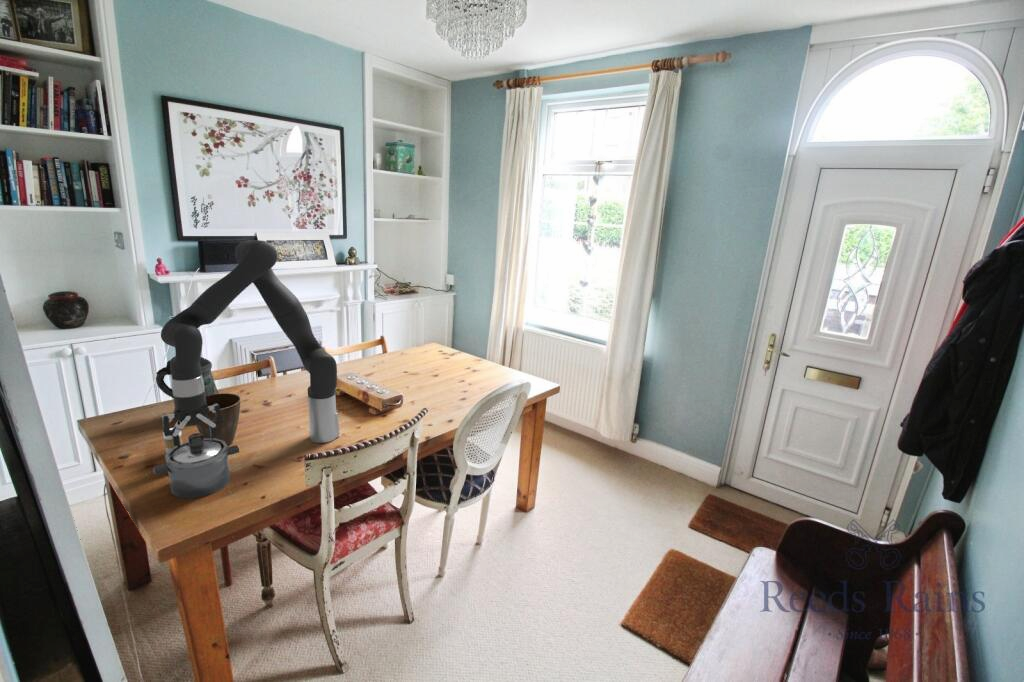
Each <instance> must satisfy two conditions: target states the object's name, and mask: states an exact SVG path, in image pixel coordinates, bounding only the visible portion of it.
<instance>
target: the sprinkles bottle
mask: <svg viewBox="0 0 1024 682" xmlns="http://www.w3.org/2000/svg"><path fill="white" fill-rule="evenodd" d="M173 428H174V427H171V428H170V427H169V430H172V429H173ZM178 435H179V439H180V444H182V443H183V440H182V430H181V431H180V432H179V434H178ZM162 437H163V440H164V445H165V453H166V454H167V453H168V452H169V450H170V449H171V448H173V447H175V445H174V443H173V438H172V436H165V435H164V432H163V431H162ZM166 454H165V455H166Z"/></svg>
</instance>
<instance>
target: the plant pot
mask: <svg viewBox="0 0 1024 682" xmlns="http://www.w3.org/2000/svg"><path fill="white" fill-rule="evenodd" d="M214 403H217V404H218V405H219V406H220V411H221V416H222V421H223V422H222V423H221V424H218V425H217V426H216V432H217V435H216V436H215V438H216V439H219V440H223V441H225V443H226V444H227V446H228V447H230V446H231V445H232V444H233V443H234V439H235V436H236V432H237V430H238V425H239V419H240V412H241V411H240V410H241V409H240V408H241V397H240V396H239V395H238V394H235V393H228V392H227V393H226V392H224V393H223V392H222V393H221V392H220V393H219V394H212V395H207V396H206V404H207V406H212V405H213V404H214ZM206 416H208V417H209V418H210V419H211V420H215V419H216V417H215V413H213V412H212V411H211V410H209V412H208V413H207V415H206ZM195 426H196V428H197V431H198V433H201V434H203V439H204V438H211V436H210V429H209V425H208V424H206V423H205V422H203V421H202V422H200V423H198V424H195Z"/></svg>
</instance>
